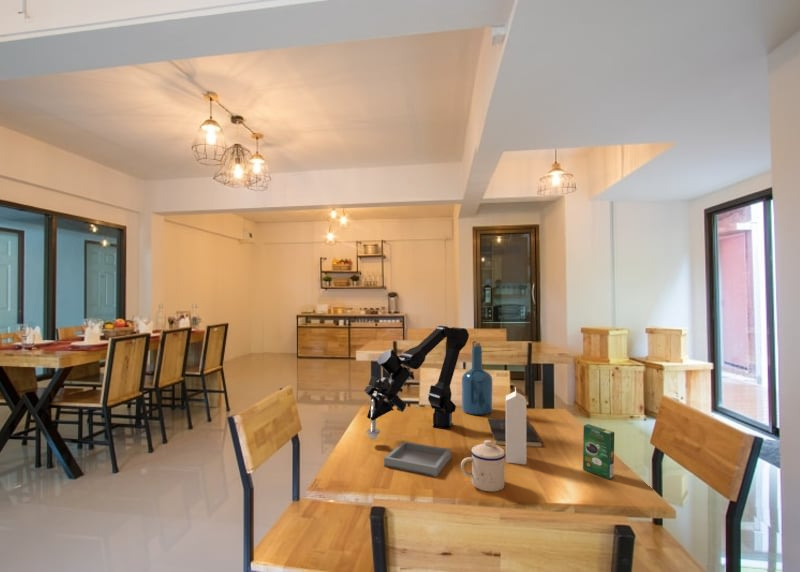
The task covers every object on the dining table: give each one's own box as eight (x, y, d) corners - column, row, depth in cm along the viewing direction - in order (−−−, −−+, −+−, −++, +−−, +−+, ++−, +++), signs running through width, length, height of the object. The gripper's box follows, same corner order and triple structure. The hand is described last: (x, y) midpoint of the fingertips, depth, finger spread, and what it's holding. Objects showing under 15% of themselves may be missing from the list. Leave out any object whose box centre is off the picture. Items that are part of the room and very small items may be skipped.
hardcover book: (494, 446, 134) (494, 439, 134) (487, 423, 156) (487, 418, 156) (542, 448, 132) (542, 441, 132) (528, 425, 154) (528, 419, 155)
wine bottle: (461, 406, 178) (461, 340, 179) (490, 407, 177) (490, 341, 178) (462, 415, 165) (462, 344, 165) (494, 417, 163) (494, 345, 164)
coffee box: (615, 478, 110) (615, 431, 110) (610, 480, 108) (610, 433, 108) (587, 467, 116) (587, 423, 116) (582, 470, 115) (582, 425, 115)
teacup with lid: (498, 475, 111) (498, 434, 111) (510, 492, 102) (510, 447, 102) (457, 477, 110) (457, 435, 110) (465, 494, 101) (465, 448, 101)
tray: (451, 457, 123) (451, 449, 123) (436, 477, 110) (436, 468, 110) (403, 448, 130) (403, 441, 130) (384, 466, 116) (384, 457, 116)
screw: (370, 441, 130) (363, 436, 134) (382, 438, 132) (376, 433, 136) (369, 402, 130) (363, 398, 134) (382, 399, 132) (376, 396, 136)
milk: (506, 462, 119) (505, 390, 120) (505, 454, 125) (505, 385, 125) (527, 464, 118) (526, 391, 118) (525, 456, 124) (524, 386, 124)
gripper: (368, 363, 143) (341, 398, 137) (398, 372, 128) (369, 412, 121) (386, 382, 148) (361, 417, 141) (417, 392, 133) (390, 431, 126)
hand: (369, 418), depth 132 cm, fingers closed on screw, 2 cm apart
